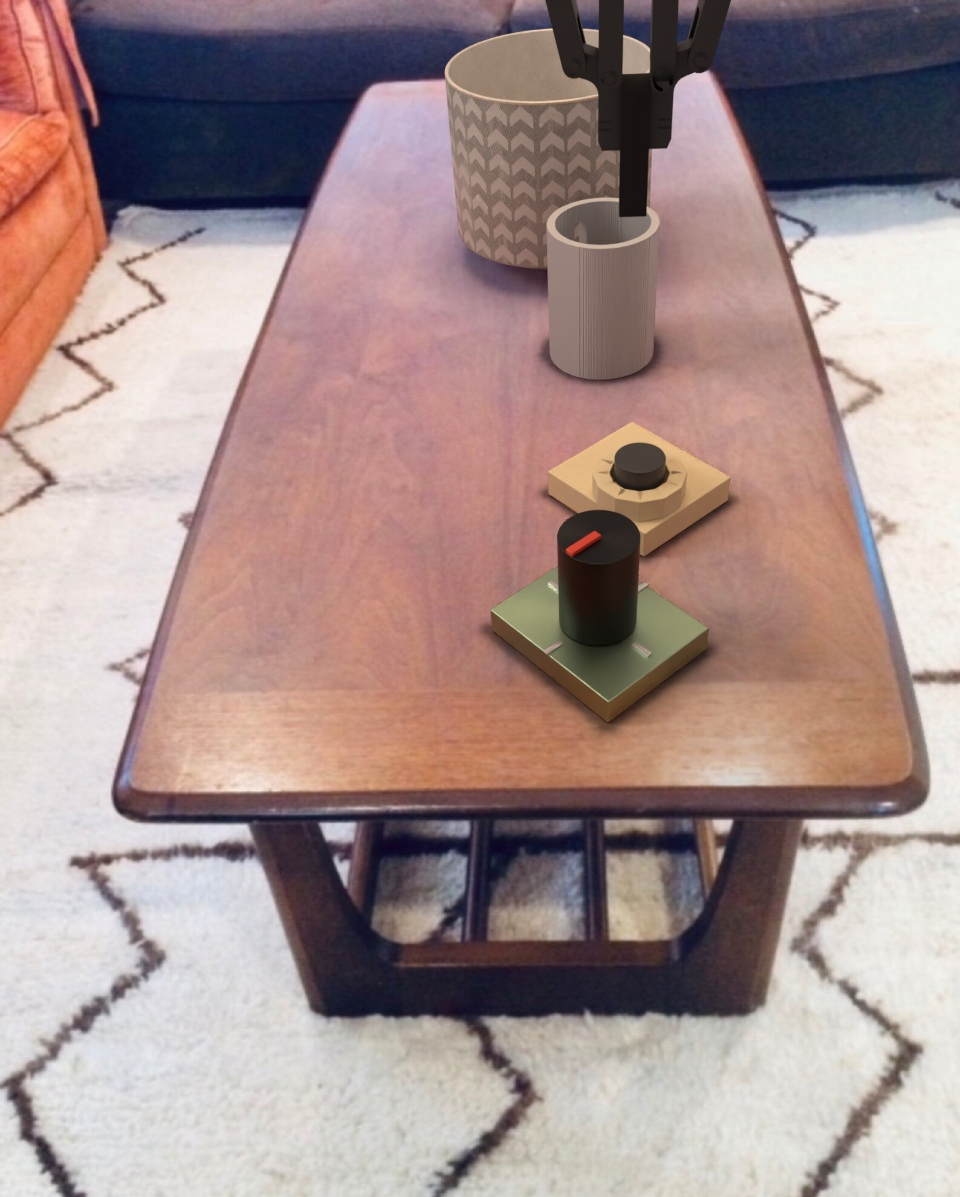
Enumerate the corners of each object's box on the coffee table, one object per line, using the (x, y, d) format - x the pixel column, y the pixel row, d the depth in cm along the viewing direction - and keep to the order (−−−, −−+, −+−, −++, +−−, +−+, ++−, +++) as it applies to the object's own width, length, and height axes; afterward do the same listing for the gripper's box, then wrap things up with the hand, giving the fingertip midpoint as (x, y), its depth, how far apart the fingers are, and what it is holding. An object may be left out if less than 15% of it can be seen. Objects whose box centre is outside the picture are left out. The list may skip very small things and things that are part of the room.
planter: (469, 307, 104) (452, 112, 92) (453, 219, 118) (437, 39, 106) (666, 285, 105) (677, 88, 92) (628, 200, 119) (633, 19, 106)
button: (675, 476, 78) (676, 457, 77) (639, 499, 77) (640, 479, 75) (638, 455, 80) (639, 435, 79) (603, 476, 79) (603, 457, 78)
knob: (598, 580, 73) (599, 494, 68) (652, 618, 70) (658, 532, 65) (543, 616, 71) (539, 531, 66) (597, 658, 68) (597, 572, 63)
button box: (728, 500, 82) (733, 457, 79) (641, 558, 78) (643, 515, 75) (631, 444, 87) (632, 401, 85) (545, 495, 83) (544, 453, 81)
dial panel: (708, 648, 71) (710, 625, 70) (606, 724, 67) (607, 701, 66) (589, 566, 77) (589, 543, 76) (490, 631, 73) (488, 608, 72)
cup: (621, 390, 93) (624, 258, 84) (530, 362, 97) (525, 233, 88) (671, 339, 98) (679, 210, 90) (583, 315, 102) (583, 189, 94)
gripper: (479, -339, 42) (509, 240, 59) (826, -369, 41) (759, 233, 57) (494, -354, 48) (519, 180, 64) (802, -380, 46) (747, 173, 62)
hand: (632, 205), depth 60 cm, fingers closed
